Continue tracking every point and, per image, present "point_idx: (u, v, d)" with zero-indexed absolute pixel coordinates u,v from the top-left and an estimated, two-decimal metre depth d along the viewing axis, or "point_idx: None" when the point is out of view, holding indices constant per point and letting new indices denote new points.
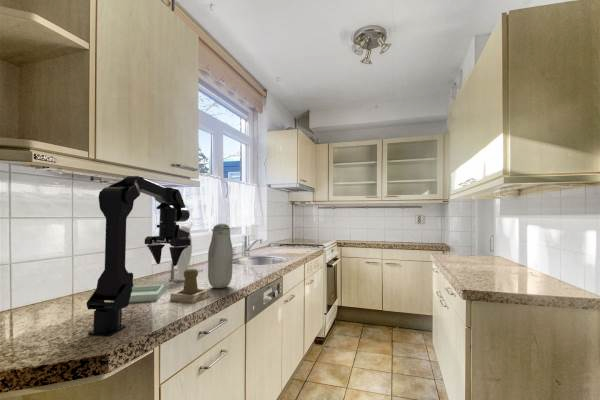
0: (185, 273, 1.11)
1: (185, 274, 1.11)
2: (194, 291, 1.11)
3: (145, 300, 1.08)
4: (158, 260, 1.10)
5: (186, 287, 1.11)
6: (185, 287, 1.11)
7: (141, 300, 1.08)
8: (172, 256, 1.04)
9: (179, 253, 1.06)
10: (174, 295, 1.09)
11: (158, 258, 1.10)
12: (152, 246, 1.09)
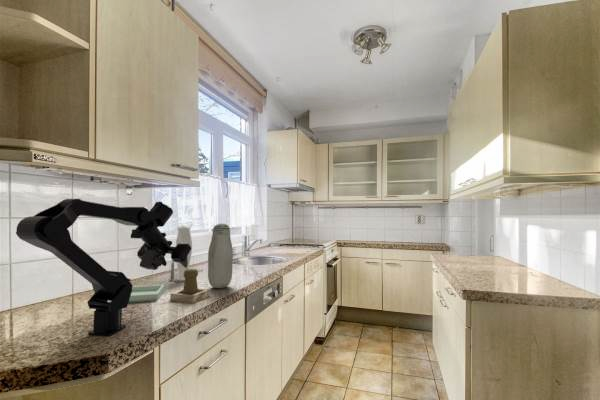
0: (185, 273, 1.11)
1: (185, 274, 1.11)
2: (194, 291, 1.11)
3: (145, 300, 1.08)
4: None
5: (186, 287, 1.11)
6: (185, 287, 1.11)
7: (141, 300, 1.08)
8: None
9: None
10: (174, 295, 1.09)
11: None
12: None
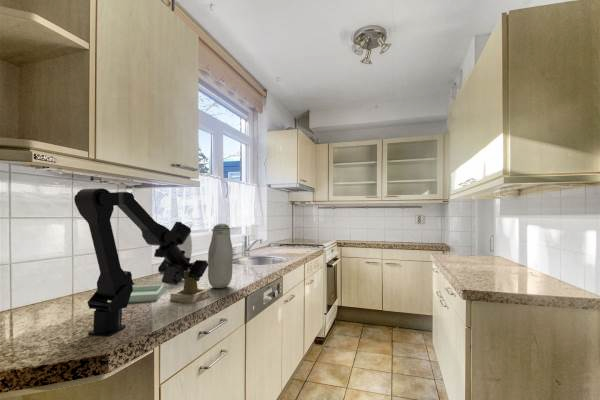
0: (185, 273, 1.11)
1: (185, 274, 1.11)
2: (194, 291, 1.11)
3: (145, 300, 1.08)
4: None
5: (186, 287, 1.11)
6: (185, 287, 1.11)
7: (141, 300, 1.08)
8: None
9: None
10: (174, 295, 1.09)
11: None
12: None
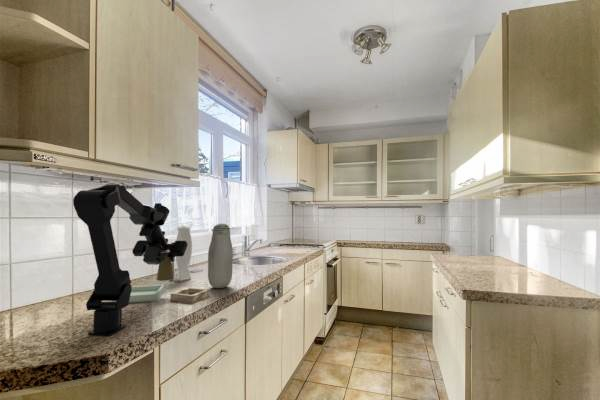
0: None
1: None
2: (170, 271, 1.15)
3: (145, 300, 1.08)
4: None
5: (163, 268, 1.13)
6: (161, 268, 1.13)
7: (141, 300, 1.08)
8: None
9: None
10: (174, 295, 1.09)
11: None
12: None
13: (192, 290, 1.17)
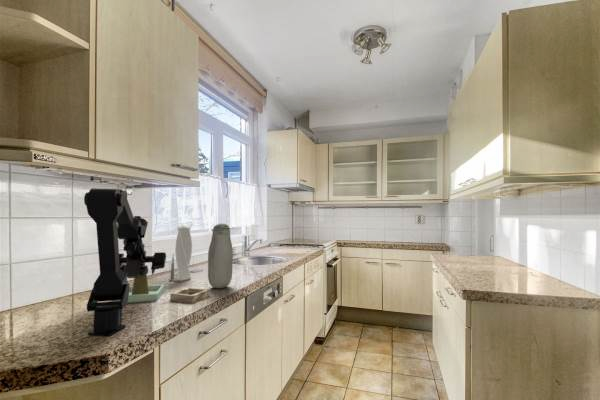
0: None
1: None
2: (146, 287, 1.14)
3: (145, 300, 1.08)
4: None
5: (139, 284, 1.12)
6: (137, 284, 1.12)
7: (141, 300, 1.08)
8: None
9: None
10: (174, 295, 1.09)
11: (152, 270, 1.16)
12: None
13: (192, 290, 1.17)
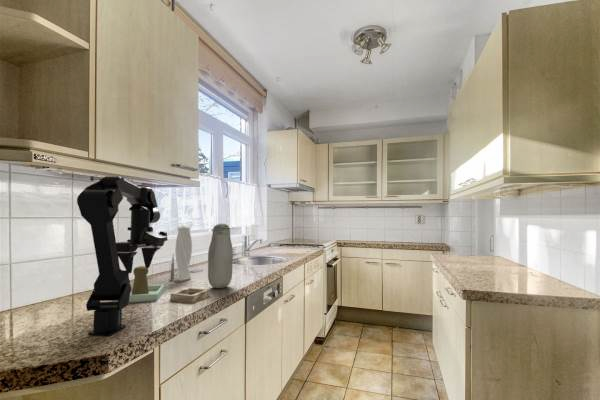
0: (137, 271, 1.12)
1: (138, 271, 1.12)
2: (147, 287, 1.14)
3: (145, 300, 1.08)
4: (147, 264, 1.04)
5: (139, 284, 1.12)
6: (137, 284, 1.12)
7: (141, 300, 1.08)
8: None
9: (129, 259, 0.94)
10: (174, 295, 1.09)
11: (147, 262, 1.05)
12: (142, 248, 1.06)
13: (192, 290, 1.17)
